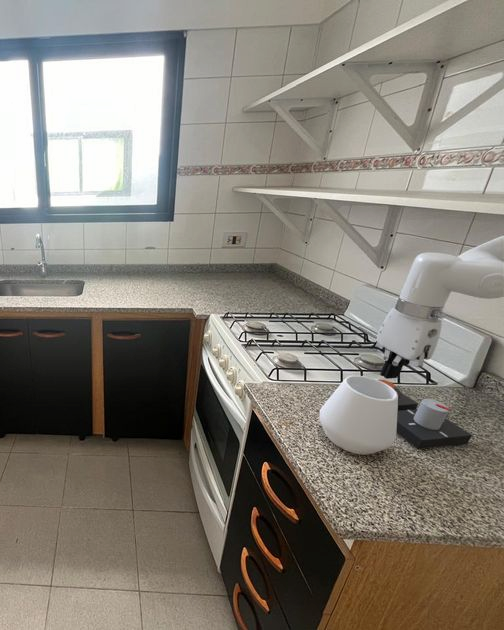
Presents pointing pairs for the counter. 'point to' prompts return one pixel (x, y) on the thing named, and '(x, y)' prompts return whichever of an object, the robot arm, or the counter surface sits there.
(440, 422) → the timer knob
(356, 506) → the counter surface
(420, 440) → the timer panel
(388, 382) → the button
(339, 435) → the cup
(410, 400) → the block
